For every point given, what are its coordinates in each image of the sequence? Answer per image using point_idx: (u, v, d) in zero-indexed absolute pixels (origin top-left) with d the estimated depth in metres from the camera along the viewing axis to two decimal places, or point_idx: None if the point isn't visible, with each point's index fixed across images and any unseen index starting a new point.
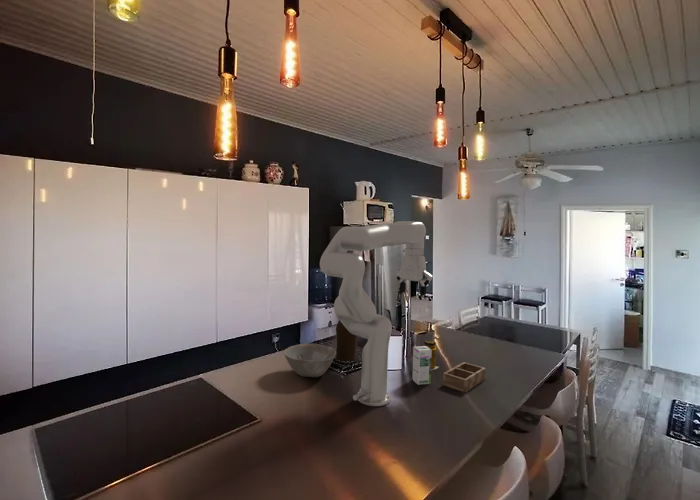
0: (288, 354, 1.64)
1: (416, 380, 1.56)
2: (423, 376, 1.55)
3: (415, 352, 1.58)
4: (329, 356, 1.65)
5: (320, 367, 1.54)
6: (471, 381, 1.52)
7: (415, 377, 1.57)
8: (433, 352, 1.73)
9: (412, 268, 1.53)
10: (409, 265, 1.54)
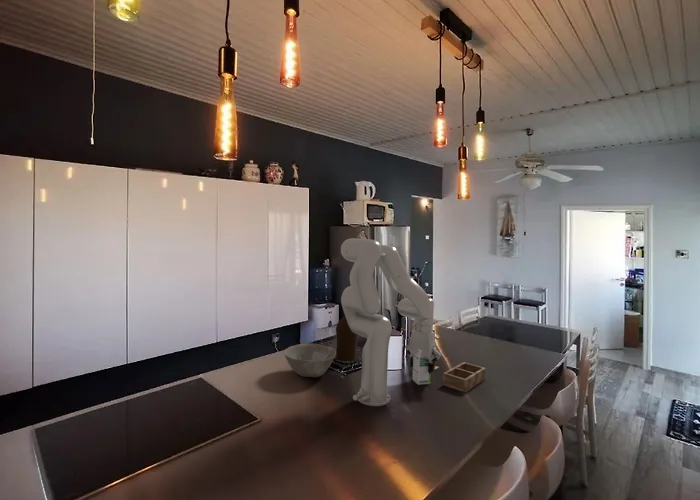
0: (288, 354, 1.64)
1: (416, 380, 1.56)
2: (423, 376, 1.55)
3: None
4: (329, 356, 1.65)
5: (320, 367, 1.54)
6: (471, 381, 1.52)
7: (415, 377, 1.57)
8: None
9: (422, 344, 1.54)
10: (419, 340, 1.55)
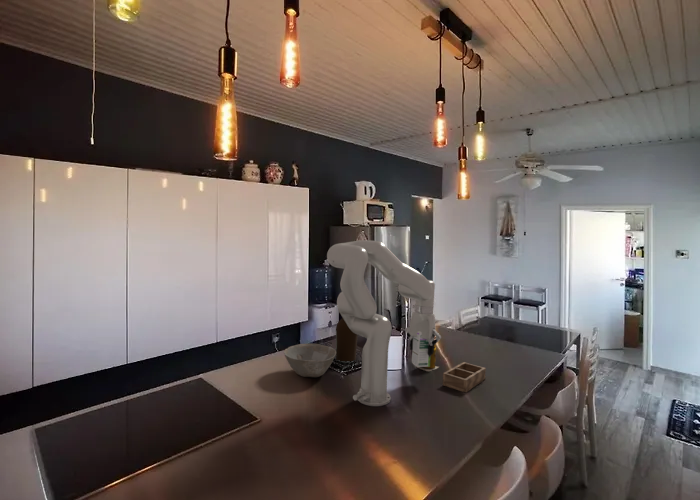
0: (288, 354, 1.64)
1: (415, 362, 1.55)
2: (422, 358, 1.54)
3: None
4: (329, 356, 1.65)
5: (320, 367, 1.54)
6: (471, 381, 1.52)
7: (414, 359, 1.56)
8: (433, 352, 1.73)
9: (422, 326, 1.54)
10: (419, 322, 1.55)
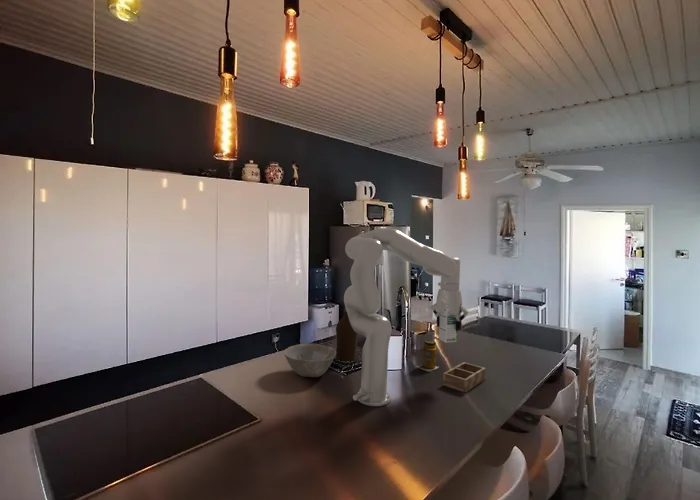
0: (288, 354, 1.64)
1: (443, 338, 1.58)
2: (450, 334, 1.56)
3: None
4: (329, 356, 1.65)
5: (320, 367, 1.54)
6: (471, 381, 1.52)
7: (442, 335, 1.59)
8: (433, 352, 1.73)
9: (449, 302, 1.56)
10: (446, 299, 1.57)
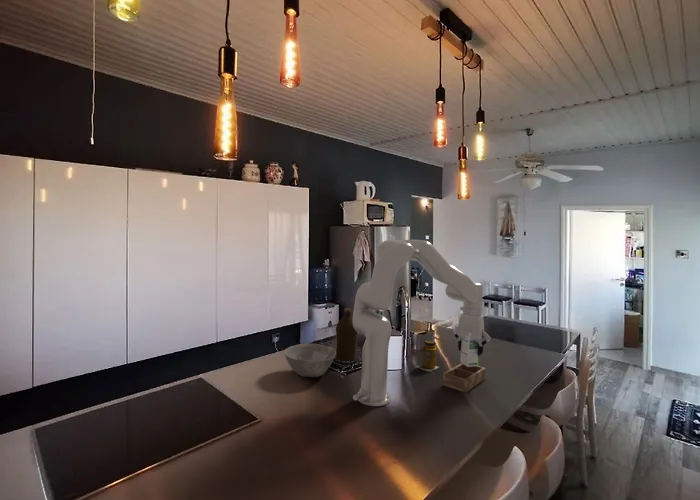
0: (288, 354, 1.64)
1: (465, 362, 1.60)
2: (472, 358, 1.59)
3: None
4: (329, 356, 1.65)
5: (320, 367, 1.54)
6: (471, 381, 1.52)
7: (464, 359, 1.61)
8: (433, 352, 1.73)
9: (471, 327, 1.58)
10: (468, 324, 1.59)
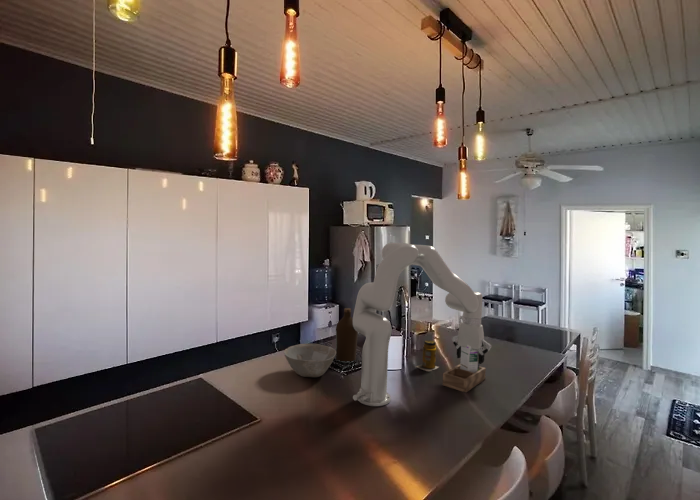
0: (288, 354, 1.64)
1: None
2: (472, 371, 1.59)
3: (463, 348, 1.62)
4: (329, 356, 1.65)
5: (320, 367, 1.54)
6: (471, 381, 1.52)
7: None
8: (433, 352, 1.73)
9: (471, 337, 1.58)
10: (468, 333, 1.59)
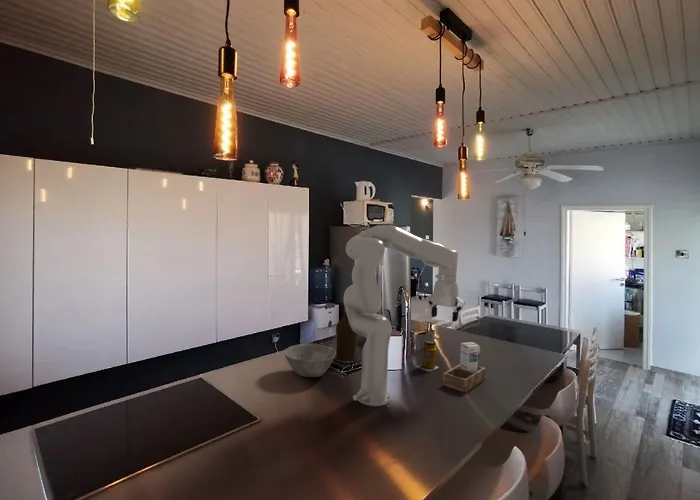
0: (288, 354, 1.64)
1: None
2: (472, 371, 1.59)
3: (463, 348, 1.62)
4: (329, 356, 1.65)
5: (320, 367, 1.54)
6: (471, 381, 1.52)
7: None
8: (433, 352, 1.73)
9: (445, 294, 1.57)
10: (442, 290, 1.59)
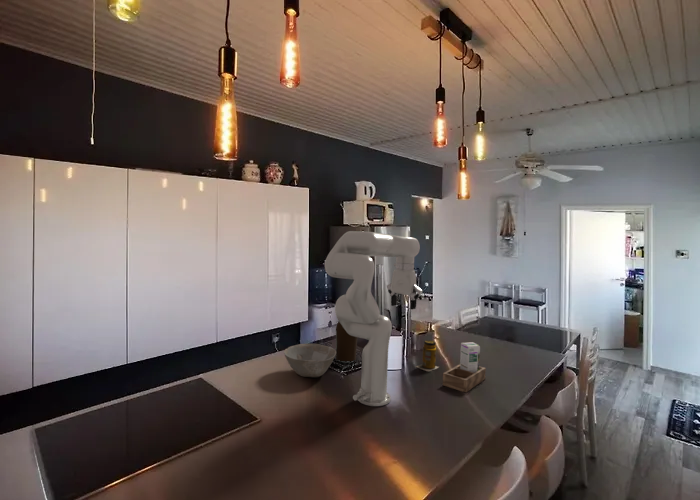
0: (288, 354, 1.64)
1: None
2: (472, 371, 1.59)
3: (463, 348, 1.62)
4: (329, 356, 1.65)
5: (320, 367, 1.54)
6: (471, 381, 1.52)
7: None
8: (433, 352, 1.73)
9: (403, 282, 1.57)
10: (400, 279, 1.58)
